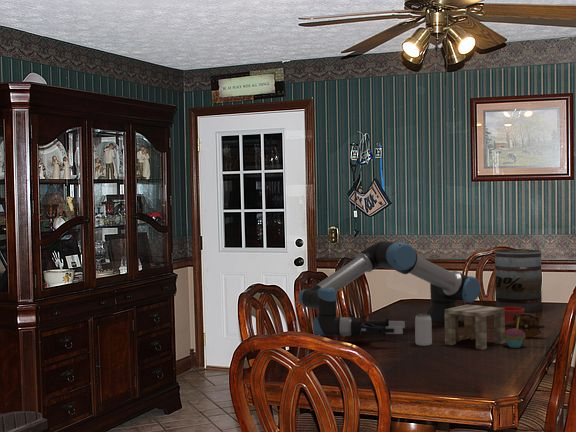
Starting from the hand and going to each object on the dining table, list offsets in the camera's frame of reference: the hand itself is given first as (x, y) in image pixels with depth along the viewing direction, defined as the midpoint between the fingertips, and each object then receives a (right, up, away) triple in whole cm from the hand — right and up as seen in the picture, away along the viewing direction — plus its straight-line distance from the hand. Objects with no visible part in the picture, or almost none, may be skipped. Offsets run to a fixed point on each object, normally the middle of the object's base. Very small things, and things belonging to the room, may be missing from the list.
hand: (403, 327), depth 316 cm
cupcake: (+42, -6, -9) cm, 43 cm away
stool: (+28, -6, -2) cm, 29 cm away
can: (+8, -7, -1) cm, 10 cm away
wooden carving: (+52, -6, +9) cm, 53 cm away
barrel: (+71, -3, +83) cm, 109 cm away
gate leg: (+25, -6, +5) cm, 26 cm away
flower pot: (+51, -5, +25) cm, 57 cm away
